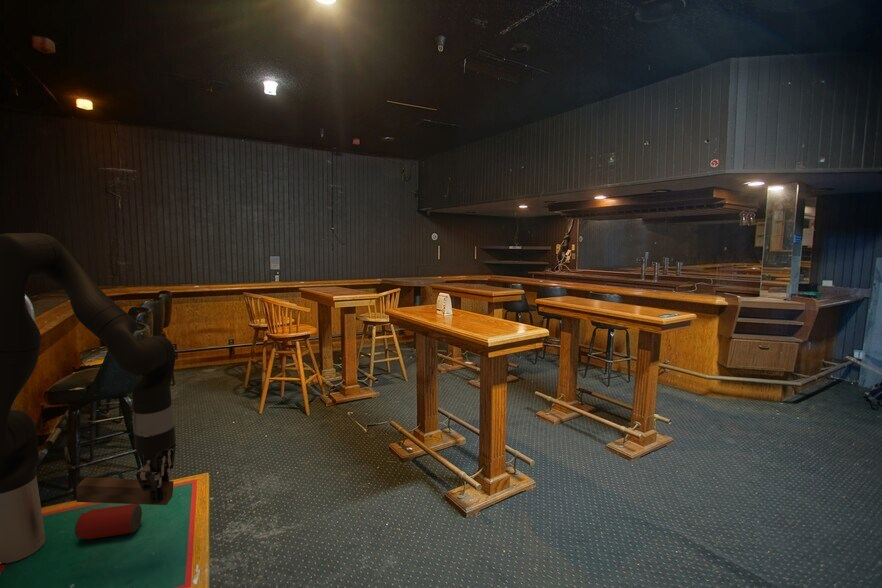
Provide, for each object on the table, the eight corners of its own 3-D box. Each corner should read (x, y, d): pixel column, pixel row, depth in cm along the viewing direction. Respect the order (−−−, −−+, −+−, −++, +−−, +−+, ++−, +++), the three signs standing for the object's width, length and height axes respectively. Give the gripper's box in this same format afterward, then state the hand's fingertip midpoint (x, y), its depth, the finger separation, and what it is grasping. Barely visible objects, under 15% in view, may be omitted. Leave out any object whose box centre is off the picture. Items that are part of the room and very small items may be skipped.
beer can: (129, 524, 103) (70, 532, 100) (136, 537, 107) (79, 545, 104) (138, 498, 108) (81, 505, 105) (144, 511, 112) (90, 518, 109)
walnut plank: (76, 502, 94) (77, 485, 93) (85, 493, 97) (85, 477, 96) (166, 505, 97) (167, 489, 97) (172, 496, 100) (173, 481, 99)
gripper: (151, 413, 101) (157, 479, 104) (117, 443, 88) (125, 519, 91) (185, 411, 103) (190, 477, 106) (158, 441, 89) (164, 516, 92)
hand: (160, 496), depth 98 cm, fingers closed on walnut plank, 3 cm apart
